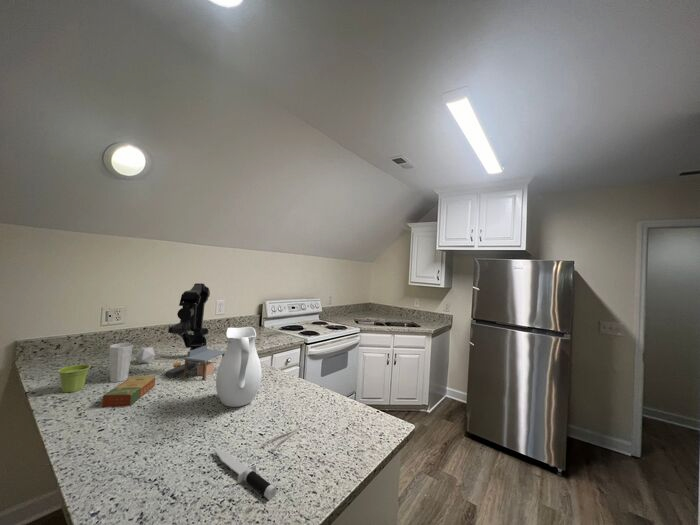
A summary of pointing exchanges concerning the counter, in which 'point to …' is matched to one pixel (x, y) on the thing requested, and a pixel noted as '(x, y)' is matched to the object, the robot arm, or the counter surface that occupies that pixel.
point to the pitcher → (239, 368)
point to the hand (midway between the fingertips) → (187, 347)
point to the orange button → (177, 364)
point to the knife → (247, 474)
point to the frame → (196, 362)
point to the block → (208, 368)
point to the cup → (120, 361)
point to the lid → (203, 354)
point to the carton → (128, 391)
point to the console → (180, 369)
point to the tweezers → (278, 439)
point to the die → (145, 355)
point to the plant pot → (73, 377)
